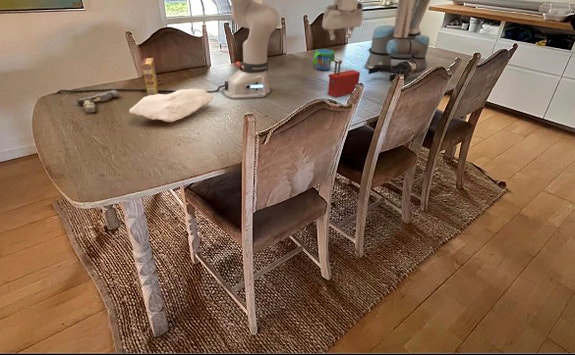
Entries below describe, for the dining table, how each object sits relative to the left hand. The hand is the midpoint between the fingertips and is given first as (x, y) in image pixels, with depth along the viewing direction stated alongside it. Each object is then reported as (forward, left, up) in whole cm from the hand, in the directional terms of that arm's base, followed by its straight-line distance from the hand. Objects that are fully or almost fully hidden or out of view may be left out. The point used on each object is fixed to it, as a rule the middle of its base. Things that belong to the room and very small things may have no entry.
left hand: (340, 38), depth 162 cm
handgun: (-101, +27, -26) cm, 108 cm away
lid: (+5, +1, -17) cm, 18 cm away
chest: (+5, +1, -26) cm, 27 cm away
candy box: (-79, +31, -26) cm, 89 cm away
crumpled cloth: (-76, +6, -26) cm, 80 cm away
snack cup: (+18, +39, -26) cm, 50 cm away
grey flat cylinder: (+86, +56, -26) cm, 106 cm away
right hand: (+28, +2, -20) cm, 34 cm away
